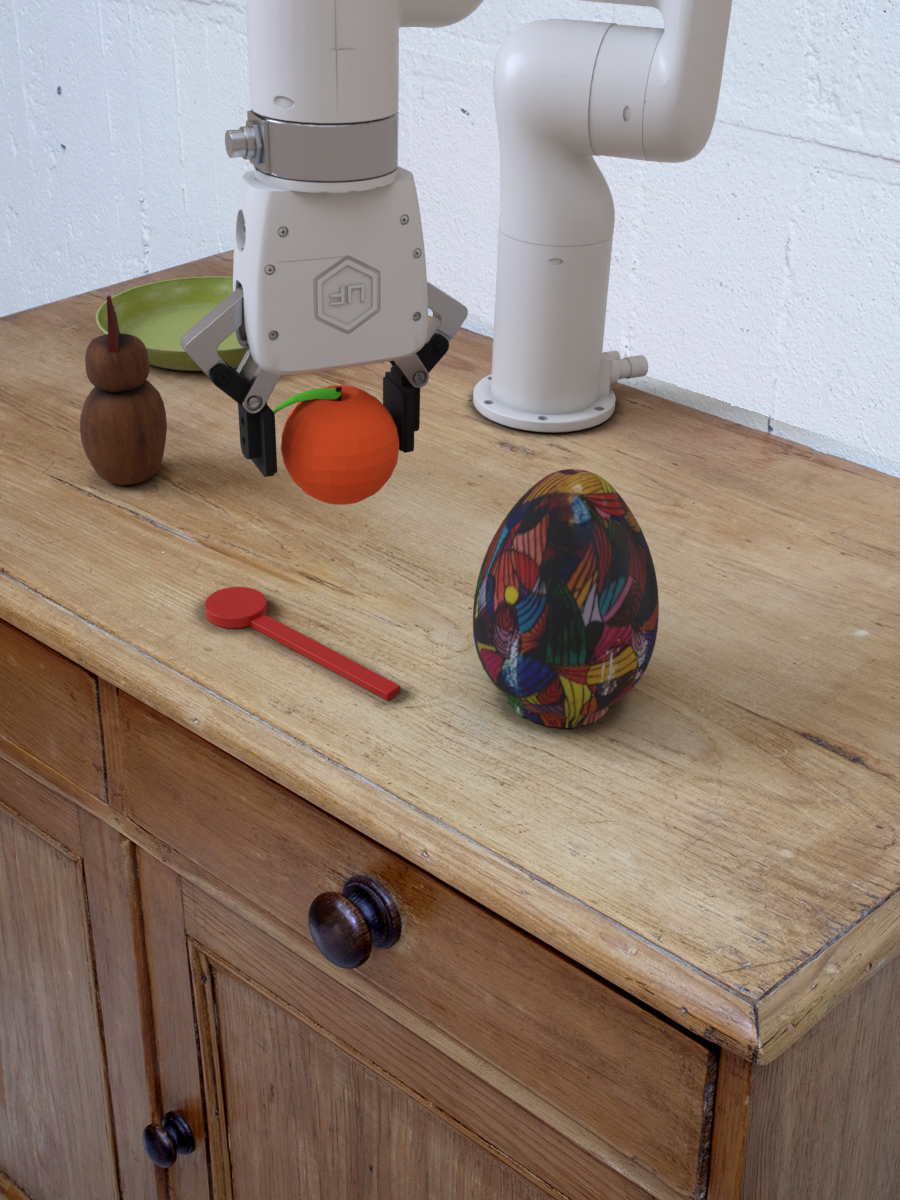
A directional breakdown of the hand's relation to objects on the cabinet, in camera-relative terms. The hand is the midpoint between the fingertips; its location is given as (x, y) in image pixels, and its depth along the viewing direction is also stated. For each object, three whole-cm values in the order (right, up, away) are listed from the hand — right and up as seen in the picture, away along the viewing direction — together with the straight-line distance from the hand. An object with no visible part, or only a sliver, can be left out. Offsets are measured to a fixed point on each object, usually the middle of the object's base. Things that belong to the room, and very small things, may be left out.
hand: (331, 453), depth 77 cm
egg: (+13, -15, +2) cm, 20 cm away
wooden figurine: (-18, +1, +26) cm, 32 cm away
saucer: (-17, +16, +51) cm, 56 cm away
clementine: (0, -3, +2) cm, 3 cm away
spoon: (-3, -12, +6) cm, 13 cm away
